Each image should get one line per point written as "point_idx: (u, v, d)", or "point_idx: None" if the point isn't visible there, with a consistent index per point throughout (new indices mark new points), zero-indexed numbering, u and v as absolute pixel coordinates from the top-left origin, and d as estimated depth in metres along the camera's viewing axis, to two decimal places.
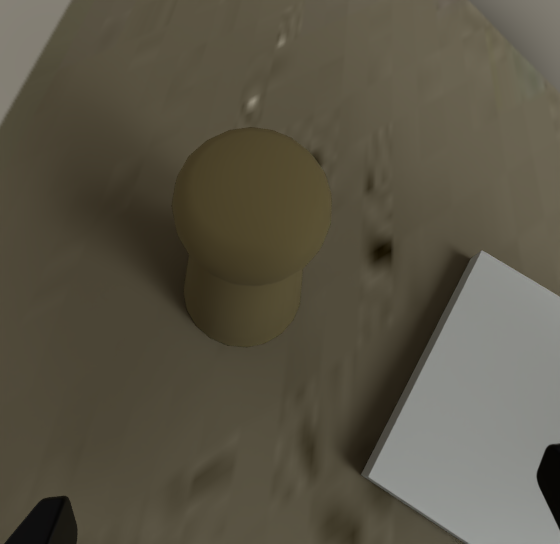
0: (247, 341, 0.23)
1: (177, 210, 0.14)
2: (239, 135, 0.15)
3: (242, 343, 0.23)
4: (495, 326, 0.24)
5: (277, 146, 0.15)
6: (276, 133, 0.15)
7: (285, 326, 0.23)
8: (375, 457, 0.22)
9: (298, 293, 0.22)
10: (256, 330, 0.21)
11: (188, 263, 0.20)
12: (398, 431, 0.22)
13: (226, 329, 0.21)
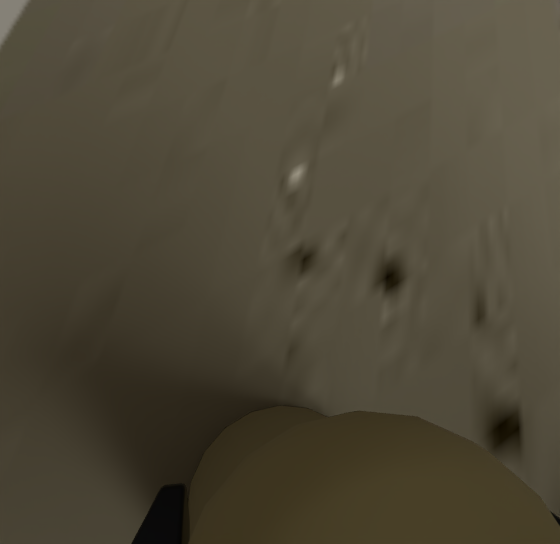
0: None
1: None
2: (365, 498, 0.05)
3: None
4: None
5: (480, 538, 0.05)
6: (462, 469, 0.05)
7: None
8: None
9: None
10: None
11: None
12: None
13: None
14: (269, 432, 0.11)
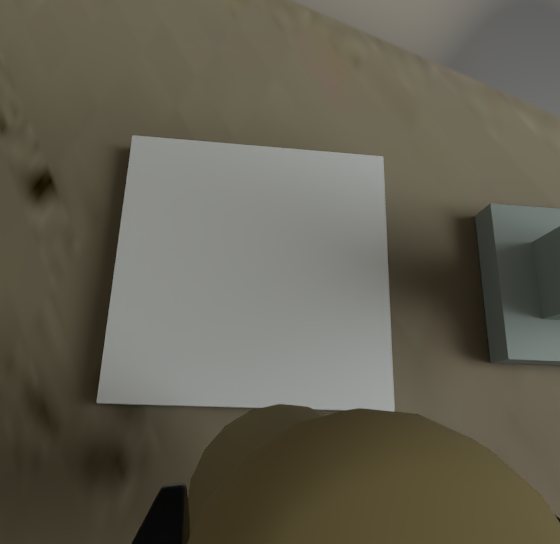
0: None
1: None
2: (365, 495, 0.05)
3: None
4: (172, 200, 0.23)
5: (481, 535, 0.05)
6: (463, 466, 0.05)
7: None
8: (101, 381, 0.21)
9: None
10: None
11: None
12: (111, 345, 0.21)
13: None
14: (269, 430, 0.11)
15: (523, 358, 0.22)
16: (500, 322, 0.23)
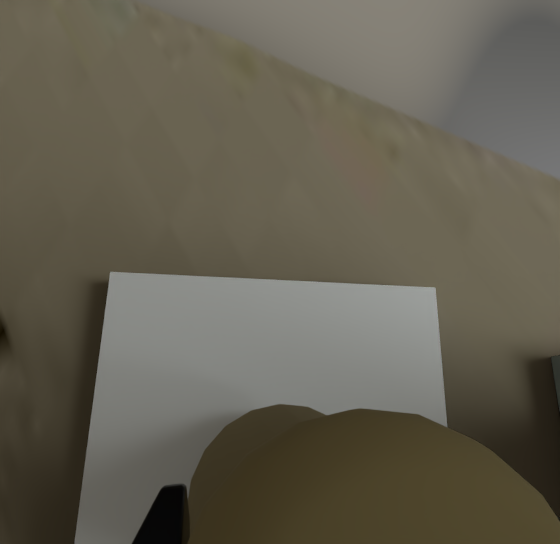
0: None
1: None
2: (365, 496, 0.05)
3: None
4: (162, 364, 0.17)
5: (481, 536, 0.05)
6: (463, 466, 0.05)
7: None
8: None
9: None
10: None
11: None
12: None
13: None
14: (269, 430, 0.11)
15: None
16: None
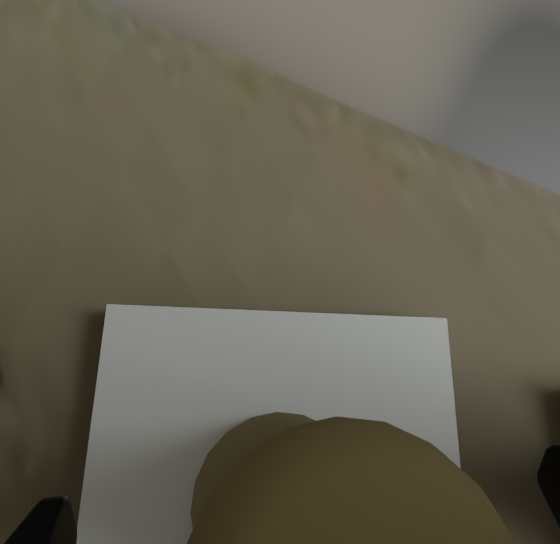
0: None
1: None
2: (334, 484, 0.06)
3: None
4: (161, 402, 0.17)
5: (424, 516, 0.06)
6: (413, 463, 0.07)
7: None
8: None
9: None
10: None
11: None
12: None
13: None
14: (265, 435, 0.12)
15: None
16: None
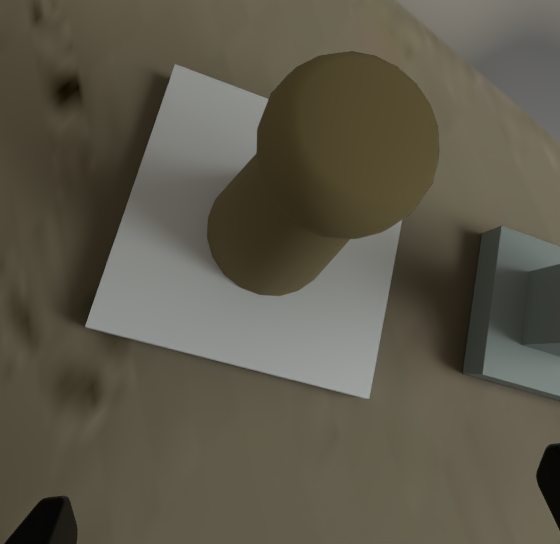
0: (264, 289, 0.21)
1: (271, 125, 0.12)
2: (363, 61, 0.12)
3: (258, 290, 0.21)
4: (201, 142, 0.22)
5: (402, 87, 0.13)
6: (401, 72, 0.13)
7: (305, 284, 0.22)
8: (93, 306, 0.20)
9: None
10: (281, 280, 0.20)
11: (234, 189, 0.18)
12: (111, 273, 0.20)
13: (249, 271, 0.20)
14: None
15: (495, 376, 0.24)
16: (482, 338, 0.24)
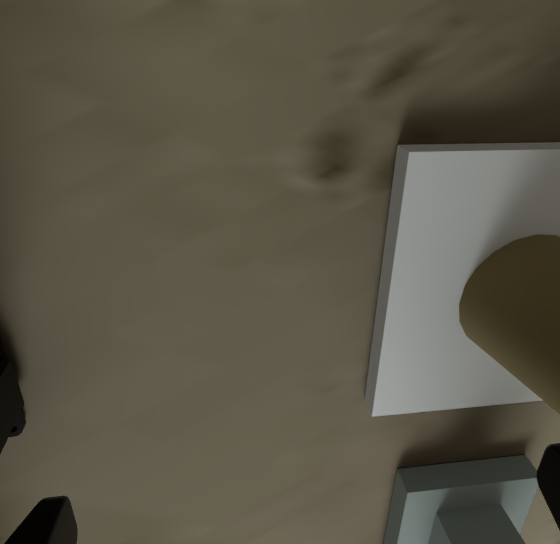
0: (471, 315, 0.20)
1: None
2: None
3: (467, 306, 0.20)
4: None
5: None
6: None
7: (475, 343, 0.22)
8: (428, 148, 0.18)
9: None
10: (493, 340, 0.19)
11: None
12: (469, 158, 0.18)
13: (499, 309, 0.19)
14: None
15: (406, 502, 0.26)
16: (436, 484, 0.26)
